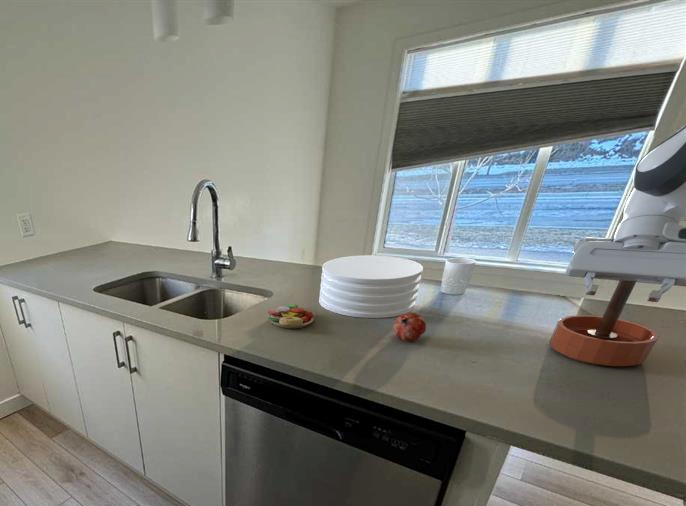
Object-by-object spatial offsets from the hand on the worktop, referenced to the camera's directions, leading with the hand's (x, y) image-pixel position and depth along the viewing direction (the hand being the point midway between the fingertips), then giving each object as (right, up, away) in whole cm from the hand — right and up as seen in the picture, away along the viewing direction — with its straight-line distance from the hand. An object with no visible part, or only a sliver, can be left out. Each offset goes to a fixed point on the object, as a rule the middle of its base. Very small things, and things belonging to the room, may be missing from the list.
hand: (620, 297), depth 86 cm
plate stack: (-34, +8, +44) cm, 56 cm away
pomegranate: (-35, -7, +19) cm, 40 cm away
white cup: (-5, +11, +45) cm, 47 cm away
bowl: (-1, -11, +5) cm, 13 cm away
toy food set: (-61, 0, +35) cm, 70 cm away
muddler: (-1, -11, +5) cm, 12 cm away
